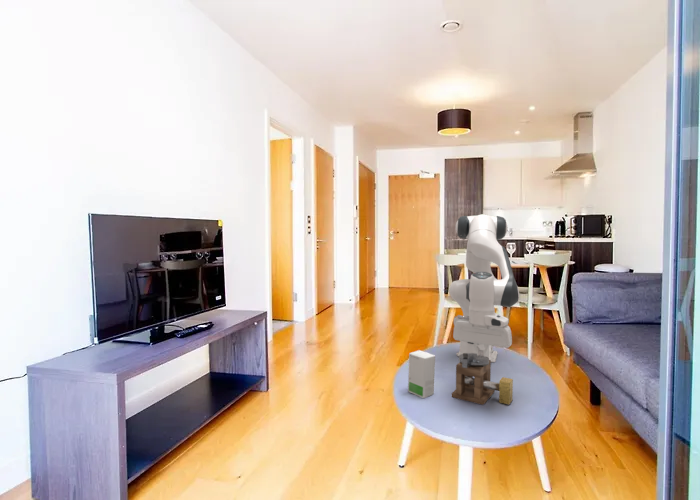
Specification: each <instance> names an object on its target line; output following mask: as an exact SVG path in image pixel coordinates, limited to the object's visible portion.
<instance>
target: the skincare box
mask: <svg viewBox="0 0 700 500" xmlns="http://www.w3.org/2000/svg"><path fill="white" fill-rule="evenodd" d="M435 367H436V355H435V354H432V353H429V352H427V351H423V350H420V349H418V350H415V351H412V352H409V354H408V380H407V381H408V383H407V385H408V386H407V392H408V393H411V394H412V395H415V396H417V397H420V398H422V399H426V398H429V397H430V396H433V395H434V394H435V371H436V368H435Z"/></svg>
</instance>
